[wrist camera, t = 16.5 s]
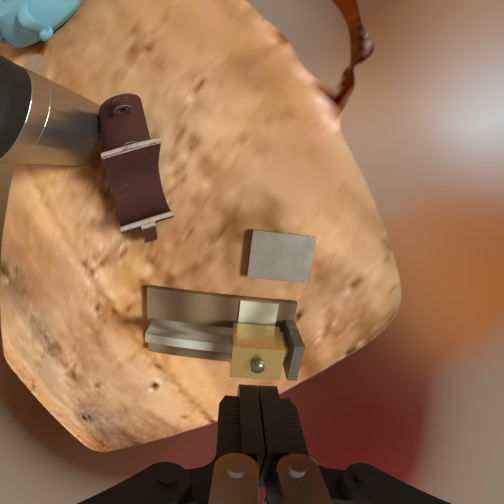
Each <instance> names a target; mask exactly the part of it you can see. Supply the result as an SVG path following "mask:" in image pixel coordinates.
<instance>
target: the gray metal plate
mask: <svg viewBox="0 0 504 504" xmlns="http://www.w3.org/2000/svg"><path fill="white" fill-rule="evenodd" d="M315 243H316V237H314V236H307V235H299V234H291V233H282V232H274V231H265V230H257V229H253V231H252V239H251V247H250V255H249V264H248V272H247V277H250V278H260V279H270V280H281V281H292V282H303V283H309V278H310V272H311V267H312V261H313V255H314V249H315Z"/></svg>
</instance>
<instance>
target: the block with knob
mask: <svg viewBox="0 0 504 504" xmlns="http://www.w3.org/2000/svg"><path fill="white" fill-rule="evenodd" d="M285 352H286V349H285V345H284V342H283V338H282V335H281V332H280V328H279V326H267V325H255V324H243V323H233V341H232V351H231V353H230V377H239V378H253V379H271V380H279V379H280V375H281V371H282V366H283V362H284V357H285Z"/></svg>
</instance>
